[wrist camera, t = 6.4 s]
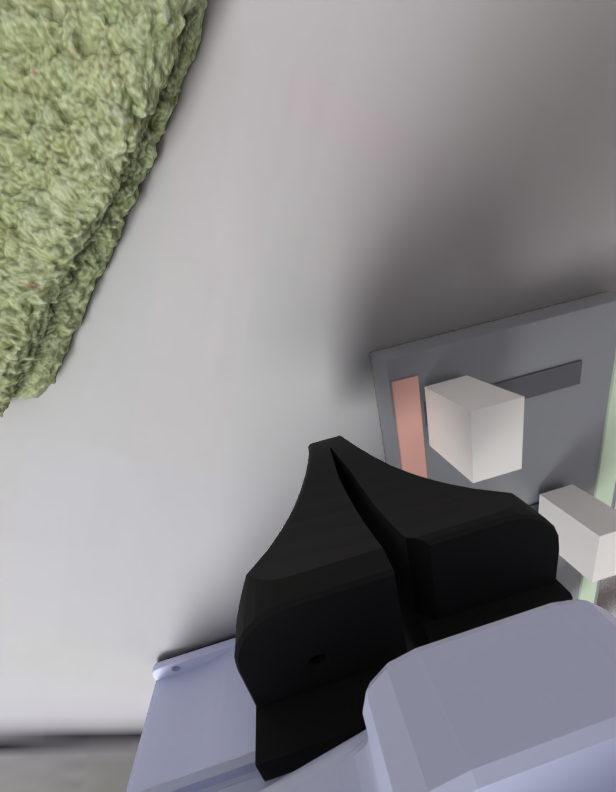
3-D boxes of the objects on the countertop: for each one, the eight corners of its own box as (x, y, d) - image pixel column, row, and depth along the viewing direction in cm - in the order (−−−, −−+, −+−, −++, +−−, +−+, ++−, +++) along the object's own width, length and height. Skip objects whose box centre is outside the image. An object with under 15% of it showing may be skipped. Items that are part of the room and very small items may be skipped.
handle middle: (536, 535, 17) (591, 582, 14) (539, 494, 16) (599, 536, 13) (567, 525, 17) (628, 570, 14) (572, 484, 16) (639, 523, 13)
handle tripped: (429, 445, 14) (473, 483, 11) (424, 386, 13) (471, 411, 10) (468, 434, 14) (521, 468, 11) (466, 375, 13) (524, 396, 10)
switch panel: (411, 636, 22) (426, 669, 20) (369, 352, 14) (387, 361, 12) (567, 583, 23) (597, 611, 21) (605, 291, 15) (657, 290, 13)
